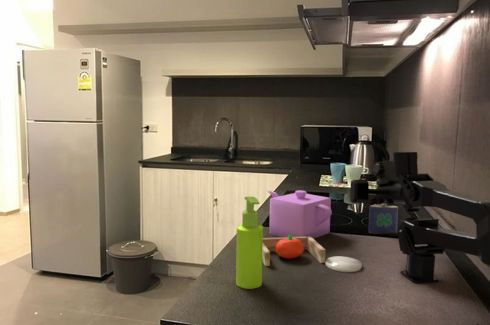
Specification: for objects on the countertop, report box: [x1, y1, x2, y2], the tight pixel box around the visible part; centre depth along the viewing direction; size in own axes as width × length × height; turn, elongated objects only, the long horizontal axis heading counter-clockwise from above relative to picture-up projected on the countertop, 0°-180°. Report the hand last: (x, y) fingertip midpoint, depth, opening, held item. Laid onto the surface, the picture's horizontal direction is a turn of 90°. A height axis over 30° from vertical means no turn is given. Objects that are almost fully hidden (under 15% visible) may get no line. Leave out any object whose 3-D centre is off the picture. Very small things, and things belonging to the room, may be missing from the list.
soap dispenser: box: [235, 196, 264, 290], centre depth 93 cm, size 6×7×20 cm
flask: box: [368, 203, 399, 235], centre depth 136 cm, size 9×3×11 cm, turn 88°
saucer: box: [324, 255, 363, 273], centre depth 106 cm, size 9×9×1 cm
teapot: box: [267, 189, 333, 240], centre depth 134 cm, size 15×25×14 cm, turn 47°
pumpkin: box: [275, 234, 304, 260], centre depth 112 cm, size 7×8×6 cm
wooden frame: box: [262, 236, 326, 267], centre depth 112 cm, size 12×16×4 cm
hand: (367, 192), depth 122 cm, fingers open, 9 cm apart
